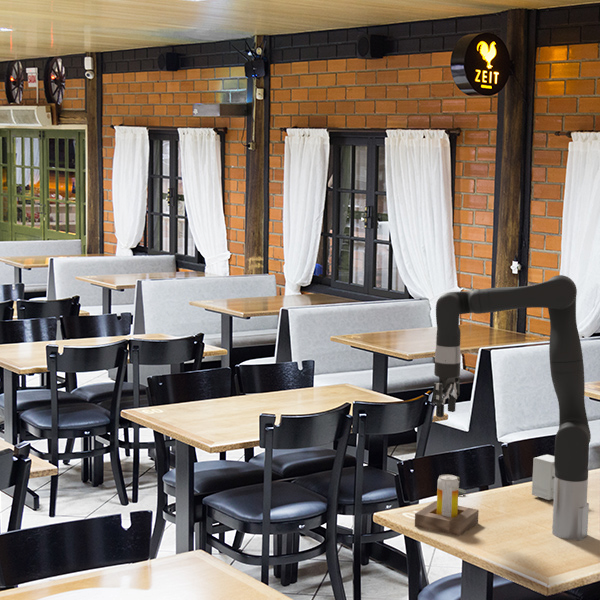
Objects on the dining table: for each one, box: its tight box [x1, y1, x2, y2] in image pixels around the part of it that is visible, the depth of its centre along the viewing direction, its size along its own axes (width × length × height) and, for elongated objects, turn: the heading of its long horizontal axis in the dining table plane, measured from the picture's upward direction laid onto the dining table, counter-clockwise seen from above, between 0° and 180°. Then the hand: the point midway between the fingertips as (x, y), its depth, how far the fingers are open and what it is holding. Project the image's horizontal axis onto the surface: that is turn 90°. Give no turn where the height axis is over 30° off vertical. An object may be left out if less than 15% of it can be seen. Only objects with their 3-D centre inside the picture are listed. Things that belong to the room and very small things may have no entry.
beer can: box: [436, 474, 460, 518], centre depth 285 cm, size 6×6×15 cm
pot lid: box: [455, 475, 467, 496], centre depth 319 cm, size 12×12×5 cm
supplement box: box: [531, 454, 555, 501], centre depth 315 cm, size 7×7×13 cm
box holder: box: [414, 500, 480, 537], centre depth 285 cm, size 14×14×4 cm
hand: (445, 414), depth 287 cm, fingers open, 8 cm apart
